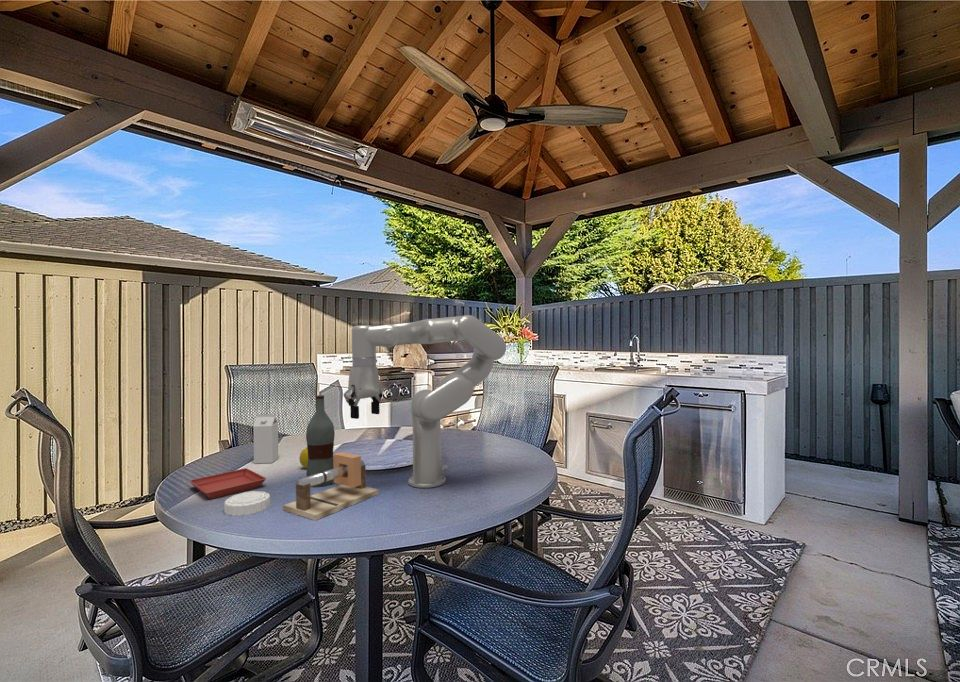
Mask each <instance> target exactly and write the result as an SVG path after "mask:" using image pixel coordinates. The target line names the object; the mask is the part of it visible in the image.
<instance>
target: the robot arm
mask: <svg viewBox="0 0 960 682" xmlns="http://www.w3.org/2000/svg"><path fill="white" fill-rule="evenodd" d="M457 341H458V342H459V341H466V342H467V343H468V344H469V345H471V346H472V347H473V352H472V353H473V354H472V357H471V358H470V360H468V362H466V363H465V364H463V365H462V366H460V367H459V368H458V369H457V368H456V369H455V370H454V371H453V372H450V373H449V374H448V375H446V376H444V377H443V378H442V379H441V380H440V382H439V386H438V387H436V388H435V389H432V390H431V389H421V390H418V391H417V392H416V393H415V394H414V395H413V397H412V400H411V403H410V406H411V407H410V410H411V421H412V476H410V477H409V478H408V484H409V485H410V486H411V487H413V488H419V489H423V488H424V489H425V488H427V489H428V488H429V489H431V488H436V487H439V486H443V485H444V484H445V483H446V482H447V481H446V480H447V479H446V477H445V475H443V473H444V472H446V471H448V469H449V466H448V465H447V464H445V465H442V454H441V453H442V441H441V439H442V433H441V432H442V429H441V420H442V419H444V418H446V417H447V416H449V415H450V414H452V413H454V412H455V411H456V410H458V409H459V408H461V407H462V406H464V405H466V403H468V402H469V401H470V399H471V398H472V396H473V394H474V388H475V387H477V386H478V385H479V384H481V383H482V382H483V381H485V380H486V379H487V378H488V377H489V375H490V373H491V372H492V370H493V367H494V361H498V360H500V359H501V358H503V357H504V356H505V354H506V350H507V344H506V342H505V340H504V338H502V336H500V334H497V332H495V331H494V330H492V328H490V327H489V326H487V325H486V324H485V323H483V322H482V321H481V319H478V318H477V317H475V316H474V315H471V314H465V315H458V316H449V317H437V318H428V319H421V320H417V321H412V322H405V323H404V322H403V323H396V324H394V323H393V324H387V323H386V324H380V325H366V324H365V325H355V326H353V327H352V329H351V350H352V352H351V355H352V359H351V360H352V361H351V363H352V367H351V368H350V370H349V375H348V385H347V386H348V389H347V390H346V391H345V392H344V393H343V397H344V399H345V402H346V403H347V404H348V406H349V407H350V408H349V409H350V419H356V420H357V419H359V418H360V405H359V404H360V400H362V399H368V398H370V399H371V403H370V405H371V406H370V411H371V414H372V415H379V414H380V411H381V410H380V402H381V401H382V398H383V395H384V392H385V387H383V386H382V385H381V384H380V376H379V369H378V366H377V362H378V359H377V347H383V348H393V347H395V346H403V345H415V344H416V345H417V344H418V345H430V344H439V343H440V344H441V343H447V342H448V343H449V342H457ZM358 405H359V406H358Z"/></svg>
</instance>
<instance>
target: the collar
mask: <svg viewBox="0 0 960 682" xmlns="http://www.w3.org/2000/svg"><path fill="white" fill-rule="evenodd" d="M361 460H362V455H358V454H354V453H347V452H342V451H340V452H336V453H333V468H337V467H340V466H343V465H348V474H347V475H344V476H341V477H338V478H335V479H334V481H333V484H338V485H345V486H349V487H356V486H359V485H361Z"/></svg>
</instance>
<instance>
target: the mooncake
mask: <svg viewBox="0 0 960 682" xmlns="http://www.w3.org/2000/svg"><path fill="white" fill-rule="evenodd" d="M223 504H224V505H223V507H224V508H223V509H224V510H223V511H224V514H226V515H227V516H233V517H237V516H238V517H241V516H249V515H254V514H257V513H261V512H262V511H264V510H267V509H268V508H270V506H271V495H270V493H268V492H266V491H257V490H256V491H255V490H252V491H243V492H240V493H236V494H234V495H233V494H232V496H230V497H228V498H226V499H225V501H224V502H223Z"/></svg>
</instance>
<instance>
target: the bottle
mask: <svg viewBox="0 0 960 682" xmlns="http://www.w3.org/2000/svg"><path fill="white" fill-rule="evenodd" d="M315 399H316V400H315V402H316V403H315V405H316V406H315V412H314V414H313V416H312V417H311V419H310V420H309V422H308V424H307V426H306V433H305V438H306V439H305V440H306V448H307V450H308V464H307V468H306V477H308V476H311V475H315V474H318V473H320V472H324V471H327V470H330V469H334V468H333V454H334V448H335V447H334V446H335V445H334V444H335V433H336V432H335V425H334V423H333V421H332V420H331V418H330V417H329V415H328V414H327V412H326V411H325V395H324V394H318V395H317V394H316V395H315ZM332 484H334V479H332V480H329V481H326V482H325V483H321V484H318V485H315V486H312V487H313V488H321V487H326V486H330V485H332ZM312 487H311V488H312Z"/></svg>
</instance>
